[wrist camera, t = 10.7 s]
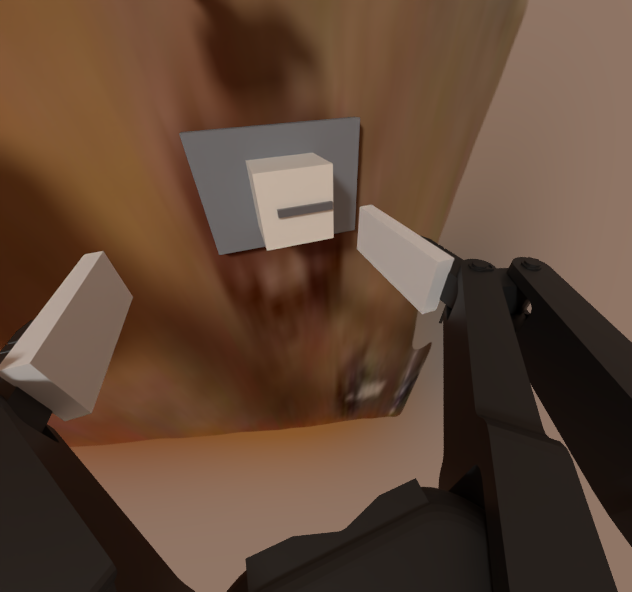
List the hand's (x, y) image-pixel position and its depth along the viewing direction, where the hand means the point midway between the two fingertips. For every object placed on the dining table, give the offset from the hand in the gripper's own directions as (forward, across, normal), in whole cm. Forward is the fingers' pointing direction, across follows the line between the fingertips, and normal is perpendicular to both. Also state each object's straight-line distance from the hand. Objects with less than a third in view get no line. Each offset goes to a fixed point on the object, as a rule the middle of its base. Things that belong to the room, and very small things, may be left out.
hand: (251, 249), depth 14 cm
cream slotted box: (+20, +6, -3) cm, 21 cm away
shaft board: (+21, +6, -3) cm, 23 cm away
